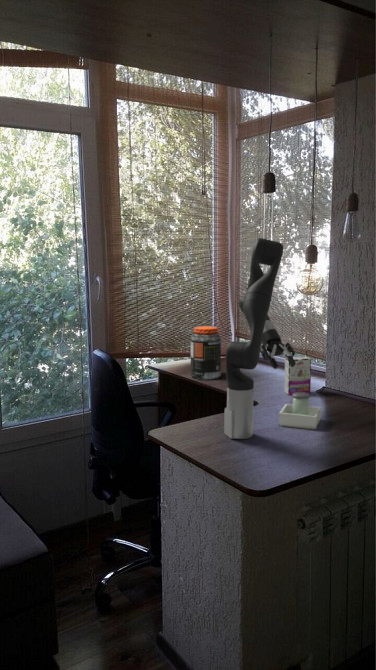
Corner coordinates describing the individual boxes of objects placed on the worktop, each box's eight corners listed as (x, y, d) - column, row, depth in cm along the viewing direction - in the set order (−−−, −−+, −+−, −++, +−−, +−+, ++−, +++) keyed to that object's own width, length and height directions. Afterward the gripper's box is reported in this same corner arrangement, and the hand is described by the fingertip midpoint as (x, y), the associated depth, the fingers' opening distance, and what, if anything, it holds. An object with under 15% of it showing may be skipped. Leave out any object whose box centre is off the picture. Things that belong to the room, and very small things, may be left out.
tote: (315, 429, 200) (316, 416, 199) (278, 425, 204) (278, 413, 204) (320, 419, 212) (320, 407, 212) (285, 415, 217) (285, 403, 216)
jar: (306, 423, 204) (307, 396, 203) (289, 421, 207) (290, 395, 206) (310, 418, 210) (311, 393, 209) (293, 416, 213) (294, 391, 212)
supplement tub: (221, 373, 291) (222, 325, 288) (220, 380, 276) (220, 329, 272) (191, 373, 293) (192, 325, 289) (188, 379, 278) (188, 329, 274)
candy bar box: (305, 391, 256) (306, 356, 253) (310, 393, 251) (311, 358, 249) (283, 392, 253) (284, 357, 250) (288, 395, 248) (289, 359, 246)
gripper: (257, 329, 216) (275, 362, 207) (286, 327, 223) (304, 359, 214) (249, 340, 221) (266, 374, 213) (277, 338, 228) (294, 370, 220)
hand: (285, 366), depth 213 cm, fingers open, 8 cm apart
